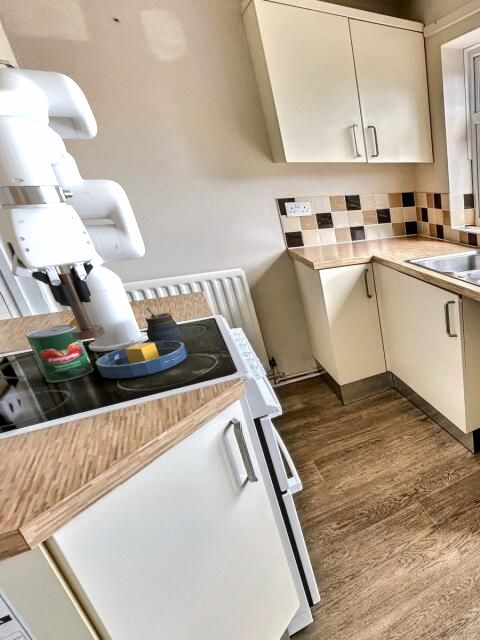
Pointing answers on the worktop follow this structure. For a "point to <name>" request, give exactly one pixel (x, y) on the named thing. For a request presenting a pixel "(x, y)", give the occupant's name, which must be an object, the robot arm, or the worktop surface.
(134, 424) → the worktop surface
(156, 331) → the mate gourd
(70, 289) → the muddler
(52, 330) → the canned tomato
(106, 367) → the bowl
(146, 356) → the block
